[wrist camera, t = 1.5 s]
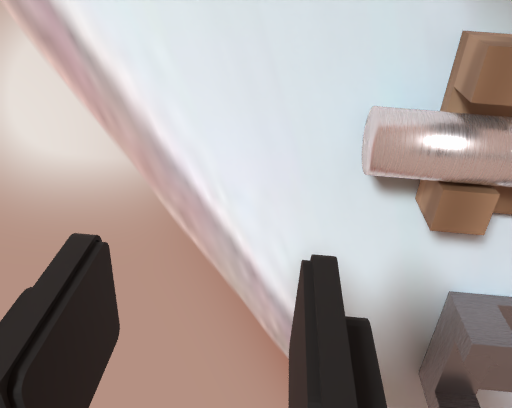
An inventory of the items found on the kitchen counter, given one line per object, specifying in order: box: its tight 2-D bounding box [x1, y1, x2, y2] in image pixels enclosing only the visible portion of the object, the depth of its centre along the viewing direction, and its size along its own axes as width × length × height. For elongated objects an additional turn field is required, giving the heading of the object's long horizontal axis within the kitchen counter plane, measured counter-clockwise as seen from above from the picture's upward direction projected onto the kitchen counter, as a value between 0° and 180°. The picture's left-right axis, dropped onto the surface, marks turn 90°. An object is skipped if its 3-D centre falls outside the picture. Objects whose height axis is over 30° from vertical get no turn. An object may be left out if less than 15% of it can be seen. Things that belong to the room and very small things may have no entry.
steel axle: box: [362, 106, 512, 187], centre depth 20 cm, size 10×3×3 cm, turn 86°
